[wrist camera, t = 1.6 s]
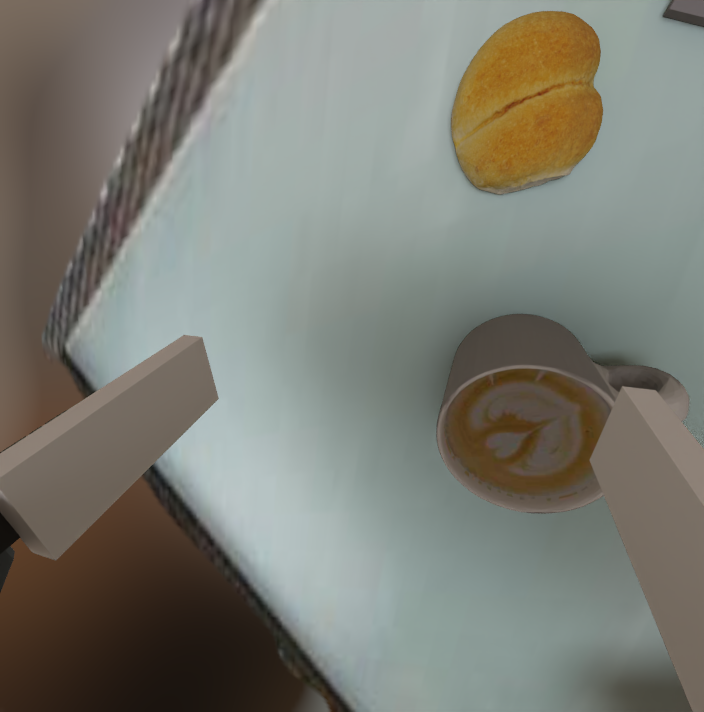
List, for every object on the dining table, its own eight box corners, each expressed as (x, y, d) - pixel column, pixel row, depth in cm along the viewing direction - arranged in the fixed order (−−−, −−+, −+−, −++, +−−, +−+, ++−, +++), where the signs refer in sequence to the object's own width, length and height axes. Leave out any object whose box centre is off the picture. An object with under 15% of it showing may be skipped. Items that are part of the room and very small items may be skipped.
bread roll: (591, -5, 19) (612, -51, 16) (598, 169, 22) (617, 161, 18) (442, 64, 23) (433, 38, 19) (463, 206, 25) (459, 206, 22)
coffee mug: (453, 419, 32) (437, 497, 23) (452, 314, 28) (433, 360, 20) (631, 436, 27) (696, 543, 18) (657, 311, 23) (751, 371, 15)
